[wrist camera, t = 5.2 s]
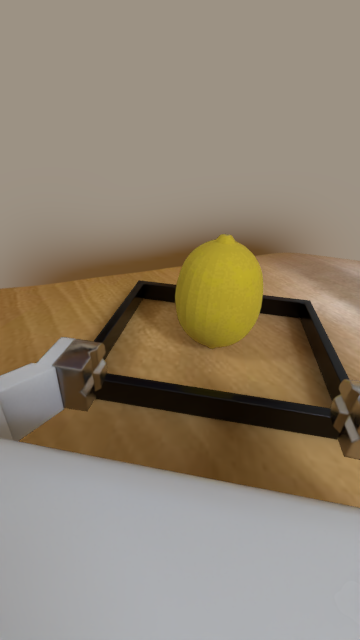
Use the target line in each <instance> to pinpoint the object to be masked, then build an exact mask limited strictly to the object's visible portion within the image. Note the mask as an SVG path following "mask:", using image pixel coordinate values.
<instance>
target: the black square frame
mask: <svg viewBox="0 0 360 640" xmlns="http://www.w3.org/2000/svg"><path fill="white" fill-rule="evenodd" d="M175 292H176V285H173V284H164V283H156V282H147V281H138V282H137V284H136V285H135V287H134V288H133V289H132V291H131V292H130V293H129V295H128V296H127V297H126V299H125V300H124V301H123V303H122V304H121V305H120V307H119V308H118V309H117V311H116V312H115V313H114V315H113V316H112V317H111V319H110V320H109V321H108V323H107V324H106V325H105V327H104V328H103V329H102V331H101V332H100V333H99V335H98V336H97V337H96V339H95V340H94V342H98V343H103V344H104V345H105V351H106V353H105V355H104V356H103V359H104V360H105V359H106V357H107V355H108V354H109V352H110V351H111V349H112V347H113V346H114V344H115V343H116V341H117V339H118V338H119V336H120V335H121V333H122V331H123V330H124V328H125V327H126V325H127V323H128V322H129V320H130V319H131V317H132V315H133V314H134V312H135V311H136V309H137V307H138V306H139V304H140V303H141V301H142V300H143V298H145V299H153V300H161V301H169V302H175ZM260 313H265V314H273V315H281V316H289V317H297V318H300V319H301V322H302V325H303V327H304V330H305V332H306V335H307V337H308V340H309V343H310V345H311V348H312V350H313V353H314V355H315V358H316V361H317V363H318V366H319V368H320V371H321V373H322V376H323V379H324V381H325V384H326V386H327V389H328V391H329V394H330V397H331V399H332V401H333V399H334V398H335V397H336V396H338V395H340V394H341V393H340V391H339V386H340V384H341V382H342V381H343V380H344V379H348V380H349V378H348V376H347V374H346V372H345V370H344V368H343V366H342V364H341V362H340V360H339V358H338V356H337V354H336V352H335V350H334V348H333V346H332V344H331V342H330V340H329V338H328V336H327V334H326V332H325V330H324V328H323V326H322V324H321V322H320V320H319V318H318V316H317V314H316V312H315V310H314V308H313V306H312V304H311V302H310V301H308V300H300V299H291V298H283V297H274V296H266V295H263V297H262V304H261V309H260ZM95 394H96V398H95V399H101V400H107V401H113V402H118V403H124V404H130V405H136V406H142V407H148V408H154V409H160V410H166V411H172V412H178V413H184V414H190V415H196V416H202V417H208V418H214V419H219V420H225V421H231V422H237V423H243V424H249V425H255V426H261V427H267V428H273V429H279V430H285V431H291V432H297V433H303V434H309V435H314V436H320V437H326V438H332V439H337V438H338V436H339V434H340V432H339V431H337V430H336V429H335V428H334V427H333V424H332V421H331V416H330V410H331V409H330V408H324V407H318V406H311V405H305V404H299V403H292V402H286V401H280V400H273V399H267V398H260V397H254V396H248V395H241V394H235V393H229V392H222V391H216V390H210V389H203V388H197V387H191V386H184V385H178V384H172V383H165V382H159V381H152V380H146V379H140V378H133V377H127V376H121V375H114V374H108V373H107V375H106V378H105V382H104V384H103V386H102V387H101V388H100V389H99V390H97V391H95Z"/></svg>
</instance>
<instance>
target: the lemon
mask: <svg viewBox="0 0 360 640" xmlns="http://www.w3.org/2000/svg"><path fill="white" fill-rule="evenodd" d="M262 297H263V277H262V272H261V268H260V265H259V263H258V261H257V259H256V258H255V256H254V255H253V254H252V253H251V252H250V250H248V249H247V248H246V247H245V246H243V245H242V244H240V243H238V242H236V241H235V240H234V239H233V237H232V236H231V235H228V234H222V235H220V236H219V237H218V238H217V239H215V240H211V241H209V242H206V243H204V244H202V245H201V246H199V247H197V248H196V249H195V250H193V252H191V254H189V256H188V257H187V258H186V260H185V262H184V264H183V266H182V269H181V271H180V274H179V277H178V281H177V285H176V292H175V304H176V311H177V316H178V320H179V322H180V324H181V326H182V328H183V329H184V331H185V332H186V333H187V335H188V336H190V337H191V338H192V339H193V340H194V341H196V342H198V343H200V344H202V345H205V346H207V347H208V348H211V349H213V348H216V347H226V346H229V345H232V344H234V343H236V342H238V341H239V340H241V339H242V338H244V337H245V336H246V335H247V334H248V333H249V331H250V330H251V329H252V327H253V326H254V324H255V323H256V320H257V318H258V316H259V313H260V309H261V304H262Z"/></svg>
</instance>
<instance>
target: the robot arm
mask: <svg viewBox="0 0 360 640" xmlns="http://www.w3.org/2000/svg"><path fill="white" fill-rule="evenodd" d="M105 353H106V351H105V345H104V344H103V343H98V342H93V341H87V340H81V339H74V338H68V337H62V338H60V339H59V340H58V341H57V342H56V343H55V344H54V345H53V346H52V347H51V348H50V349H49V350H48V351H47V352H46V354H45V355H44V356H43V357H42V358H41V359H40V360H39V361H38V362H37V363H36V364H35V363H31V364H28V365H26V366H23V367H21V368H18V369H16V370H13V371H11V372H8V373H6V374H3V375H1V376H0V640H360V508H359V507H354V506H349V505H343V504H338V503H333V502H328V501H323V500H318V499H312V498H307V497H302V496H297V495H292V494H287V493H281V492H276V491H271V490H266V489H261V488H256V487H250V486H245V485H240V484H235V483H230V482H225V481H219V480H214V479H209V478H204V477H199V476H194V475H189V474H183V473H178V472H173V471H168V470H163V469H158V468H152V467H147V466H142V465H137V464H132V463H127V462H121V461H116V460H111V459H106V458H101V457H96V456H90V455H85V454H80V453H75V452H70V451H65V450H59V449H54V448H49V447H44V446H39V445H34V444H28V443H23V442H18V441H19V440H20V439H22V438H23V437H25V436H26V435H28V434H29V433H31V432H32V431H33V430H35V429H36V428H38V427H39V426H41V425H42V424H44V423H45V422H46V421H48V420H49V419H51V418H52V417H54V416H55V415H57V414H58V413H59V412H61V411H62V410H64V408H67V409H74V410H81V411H87V412H88V410H89V408H90V407H91V405H92V403H93V401H94V400H95V398H96V394H95V391H97V390H99V389H100V388H101V387H102V386H103V384H104V382H105V378H106V375H107V363H106V361H105V360H104V359H103V356H104V355H105ZM339 391H340V393H341V394H340V395H338V396H336V397H335V398H334V399H333V401H332V404H331V410H330V416H331V421H332V424H333V427H334V428H335V429H336V430H337V431H339V432H340V434H339V436H338V438H337V439H338V441H339V444H340V447H341V450H342V452H343V455H344V457H348V458H353V459H358V460H360V381H355V380H348V379H344V380H343V381H342V382H341V384H340V386H339Z"/></svg>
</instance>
